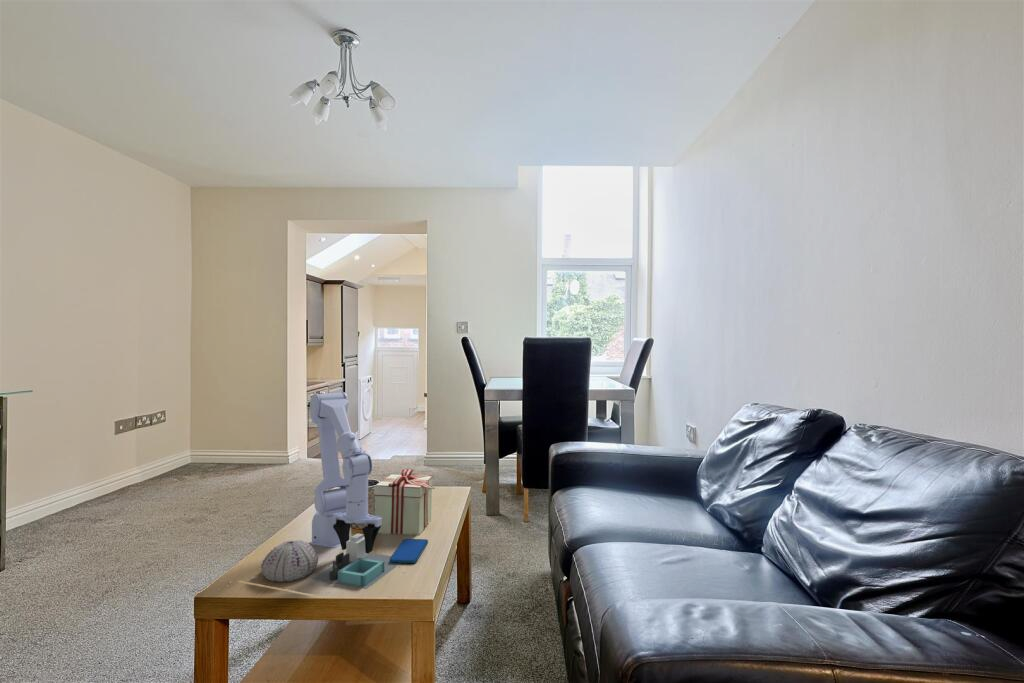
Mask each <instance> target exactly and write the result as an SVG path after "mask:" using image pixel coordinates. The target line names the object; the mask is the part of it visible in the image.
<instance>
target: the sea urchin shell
mask: <svg viewBox="0 0 1024 683" xmlns="http://www.w3.org/2000/svg"><path fill="white" fill-rule="evenodd" d="M261 561H262V562H261V566H260V570H261V571H260V572H261V573H262V575H263V576H264V577H265V579H267V580H268V581H270V582H278V583H284V582H289V583H290V582H294V581H298V580H301V579H302V578H305V577H306V576H310V574H311V573H313V571H314V570H315V569H316V568H317V566H318V563H319V556H318V552H316V550H315V548H314V547H313V546H312V544H310V543H308V542H306V541H304V540H287V541H283V542H281V543H280V544H277V545H276V546H274V547H273V548H272V549H271V550H270V551H269V552H268V553H267V554H266V555H265V557H264V559H263V560H261Z"/></svg>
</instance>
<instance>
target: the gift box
mask: <svg viewBox="0 0 1024 683" xmlns="http://www.w3.org/2000/svg"><path fill="white" fill-rule="evenodd" d="M414 471H415V469H402V470H401V473H400V474H390V475H388V476H387V477H385V478H384V479H382V480H380V481H379V482H378V483H377V484H375V485H374V488H373V495H374V496H375V500H374V502H375V504H374V505H375V506H374V508H375V509H374V516H376V517H381V518H382V525H381V527H380V529H379V531H378V533H377V534H389V535H390V534H391V535H410V536H411V535H413V536H420V535H421V534H422V532H423V531H424V530H425V529H426V527H427V526H428V525H429V524H430V523H431V521H432V497H433V496H432V494H433V493H432V492H433V491H432V490H434V489H436V487H433V486H434V475H433V474H420V473H419V474H412V473H413V472H414ZM429 522H430V523H429Z"/></svg>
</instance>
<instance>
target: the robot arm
mask: <svg viewBox="0 0 1024 683" xmlns="http://www.w3.org/2000/svg"><path fill="white" fill-rule="evenodd" d="M349 402H350V401H349V398H348V395H347V393H346V392H344V391H341V392H329V393H314V394H312V396H311V398H310V402H309V409H310V411H309V412H310V418H311V423H313V424H315V425H317V427H316V428H317V432H318V439H319V441H318V442H319V449H320V457H321V458H320V459H321V460H320V461H321V468H322V469H321V470H322V478H323V479H322V480H321V481H320V482H319V483H318V484H317V486H316V487H315V488H314V500H313V502H314V508H315V511H316V513H314V515H313V516H312V520H311V541H310V542H309V544H310V545H315V546H321V547H327V548H333V549H335V548H339V547H341V551H344V550H345V551H346V542H347V541H348V540H350V537H351V536H350V532H351V527H352V524H358V525H367V526H365V527H363V528H362V534H364V538H365V551H366V553H372V551H373V549H374V546H375V545H374V544H375V540H376V537H377V536H378V534H379V533H378V531H379V529H380V527H381V525H382V518H381V517H376V516H375V514H374V515H373V514H370V513H369V475H371V473H372V471H373V461H372V458H371V455H370V454H369V453H368V452H367V451H366V450H364V449H363V447H362V443H361V442H360V440H359V437H358V435H357V434H356V433H355V432H352V429H351V425H350V422H349V418H348V415H347V413H348V409H349ZM337 436H338V438H337ZM338 450H339V451H338ZM339 452H340V456H341V458H342V461H343V462H342V466H341V468H340V458H339ZM341 469H342V474H343V477H342V476H341V475H342V474H341Z"/></svg>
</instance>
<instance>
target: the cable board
mask: <svg viewBox="0 0 1024 683" xmlns="http://www.w3.org/2000/svg"><path fill="white" fill-rule="evenodd" d="M391 556H392V555H386V554H385V555H384V554H381V553H379V554H378V553H372V552H370V553H367V556H366V557H365V558H358V559H357V560H355V561H354V562H352V561H349V553H347V554H346V553H344V552H339V554H337V555H335V560H333V561H332V565H331V566H330V567H329V568H327V569H325V570H324V571H322V572H320V573H318V574H317V575H315V576H314V577H312V578H311V580H314V581H320V582H325V583H330V584H337V585H341V586H347V587H354V588H359V589H363V590H367V589H369V588H370V587H371V586H373V585H374V584H376V583H377V582H378V581H379V580H381V579H382V578H383V577H385V576H386V575H387V574H389V573H390V572H391V571H393V570H394V569H395V568H397V567H398V566H399V565H400V564H401V563H399V562H390V557H391Z"/></svg>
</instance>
